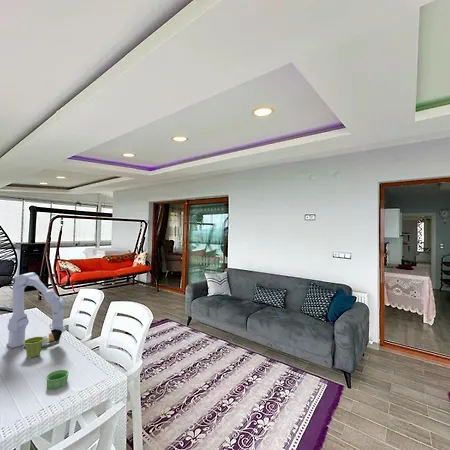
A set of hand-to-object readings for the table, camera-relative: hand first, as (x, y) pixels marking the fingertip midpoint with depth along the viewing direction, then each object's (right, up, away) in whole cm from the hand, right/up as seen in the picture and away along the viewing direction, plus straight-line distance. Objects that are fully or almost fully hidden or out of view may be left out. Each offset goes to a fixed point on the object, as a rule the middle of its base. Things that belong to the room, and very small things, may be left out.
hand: (57, 341), depth 162 cm
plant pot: (-5, -3, -13) cm, 14 cm away
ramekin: (+25, -3, -39) cm, 47 cm away
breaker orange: (-6, -1, +4) cm, 7 cm away
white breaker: (-7, -1, -2) cm, 7 cm away
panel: (-9, -2, 0) cm, 10 cm away
